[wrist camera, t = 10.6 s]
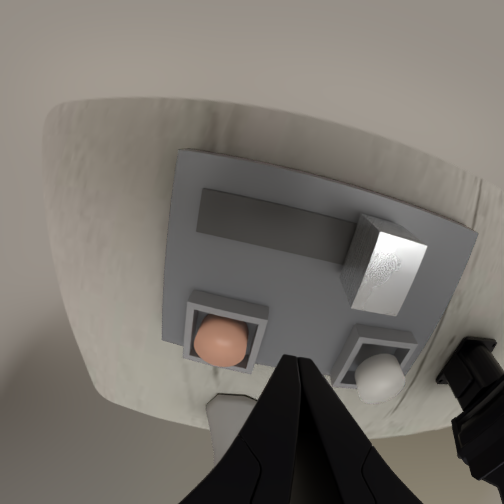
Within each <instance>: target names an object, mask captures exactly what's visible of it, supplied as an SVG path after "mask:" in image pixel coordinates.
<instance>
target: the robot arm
mask: <svg viewBox="0 0 504 504" xmlns="http://www.w3.org/2000/svg"><path fill="white" fill-rule="evenodd" d="M496 344H497V342H496V341H495V340H492V339H481V338H471V337H466V338H464V339H463V341H462V342H461V344H460V345H459V347H458V349H457V350H456V352H455V353H454V355H453V356H452V358H451V359H450V361H449V362H448V363H447V365H446V366H445V368H444V369H443V371H442V372H441V373H440V375H439V376H438V377H437V379H436V382H437V384H449V386H450V388H451V390H452V392H453V394H454V396H455V398H457V400H458V402H459V404H460V406H461V408H462V410H463V412H462V413H461V414H460V415H458V416H457V417H455V418H454V419H452V420H451V422H452V430H453V434H454V439H455V444H456V449H457V456H458V458H459V459H462V460H463V462H464V463H465V464H467V465H468V466H469V468H470V472H471V475H472V477H474V478H475V479H477V480H481V479H482V480H484V481H486V482H488V483H490V484H492V485H494V486H496V487H497V488H498V490H499V493H500V497H501V500H502V504H504V371H503V369H502V368H501V366H500V365H499V363H498V362H497V360H496V359H495V358H494V356H493V355H492V353H491V352H492V351H493V349H494V347H495V346H496ZM178 504H423V503H422V502H421V501H420V500H419V499H418V498H417V497H416V496H415V495H414V494H413V493H412V492H411V491H410V490H409V488H407V486H406V485H405V484H404V483H403V482H402V481H401V480H400V479H399V478H398V477H397V475H396V474H395V473H394V472H393V471H392V470H391V469H390V467H389V466H388V465H387V464H386V462H385V461H384V460H383V458H382V457H381V456H380V454H379V453H378V452H377V450H376V449H375V447H374V446H372V443H371V442H370V441H369V439H368V438H367V436H366V435H365V434H364V432H363V431H362V429H361V428H360V427H359V425H358V424H357V422H356V421H355V420H354V418H353V417H352V415H351V414H350V413H349V411H348V410H347V408H346V407H345V406H344V404H343V403H342V401H341V400H340V399H339V397H338V396H337V394H336V393H335V391H334V390H333V389H332V387H331V386H330V384H329V383H328V382H327V380H326V379H325V377H324V376H323V374H322V373H321V372H320V370H319V369H318V367H317V366H316V364H315V363H314V362H313V360H312V359H310V358H305V357H296V356H294V355H288V354H283V355H282V357H281V358H280V360H279V362H278V364H277V366H276V368H275V370H274V372H273V373H272V375H271V377H270V379H269V381H268V383H267V384H266V386H265V388H264V390H263V392H262V393H261V395H260V397H259V399H258V400H257V402H256V404H255V406H254V407H253V409H252V411H251V413H250V414H249V416H248V418H247V419H246V421H245V423H244V424H243V426H242V428H241V429H240V431H239V433H238V435H237V436H236V437H235V439H234V440H233V442H232V444H231V445H230V447H229V448H228V450H227V451H226V453H225V454H224V455H223V457H222V458H221V460H220V461H219V462H218V463H217V465H216V466H215V467H214V468H213V469H212V470H211V471H210V473H209V474H208V475H207V476H206V477H205V478H204V479H203V480H202V481H201V482H200V483H199V484H198V485H197V486H196V487H195V488H194V489H193V490H192V491H191V492H190V493H189V494H188V495H187V496H186V497H185V498H184V499H183V500H182V501H181V502H180V503H178Z"/></svg>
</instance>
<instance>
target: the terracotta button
mask: <svg viewBox="0 0 504 504" xmlns="http://www.w3.org/2000/svg"><path fill="white" fill-rule="evenodd" d="M248 335H249V331H248V327H247V325H246V323H245V322H244V321H240V320H235V319H231V318H227V317H223V316H218V315H214V314H208V315H207V316H206V317H205V318H204V319H203V320H202V323H201V325H200V327H199V330H198V332H197V335H196V337H195V340H194V348H195V351H196V353H197V354H198V355H199V357H200V358H202V359H203V360H204V361H206V362H207V363H209V364H212V365H215V366H219V367H230V366H234V365H236V364H238V363H240V362H241V361H242V360H243V358H244V357H245V353H246V347H247V341H248Z"/></svg>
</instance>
